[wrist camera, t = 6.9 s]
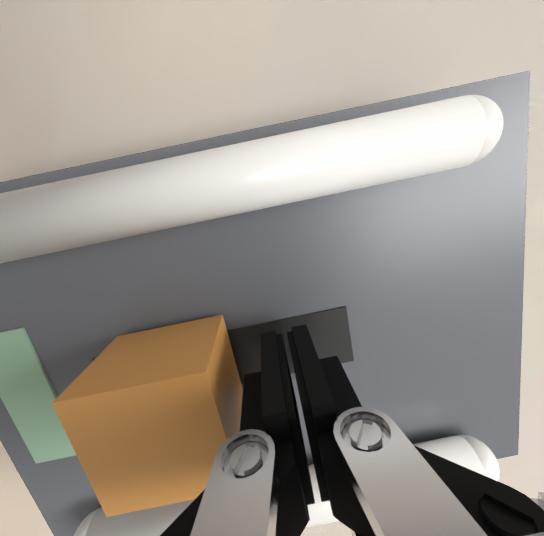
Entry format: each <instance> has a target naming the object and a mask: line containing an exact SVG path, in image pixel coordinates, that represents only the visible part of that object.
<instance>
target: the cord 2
mask: <svg viewBox="0 0 544 536" xmlns="http://www.w3.org/2000/svg"><path fill="white" fill-rule="evenodd" d="M413 445H414V446H417V447H419V448H421V449H424V450H426V451H428V452H431V453H433V454H435V455H438V456H440V457H442V458H445V459H447V460H449V461H452V462H454V463H456V464H458V465H461V466H463V467H465V468H468V469H470V470H472V471H475V472H477V473H479V474H482V475H484V476H486V477H489V478H491V479H493V480H496V481H498V480H499V477H500V468H499V464H498V461H497V459H496V457H495V455H494V454H493V452H492V451H491V450H490V449H489V447H488V446H487V445H485V444H484V443H483V442H482V441H480V440H478V439H476V438H474V437H471V436H468V435H455V436H450V437H445V438H440V439H435V440H430V441H426V442H421V443H416V444H413ZM308 467H309V472H310V478H311V483H312V489H313V494H314V500H315V504H310V505H308V511H309V517H310V521H308V524H307V525H306V527H305V528H307V527H312V526H317V525H322V524H327V523H332V522H337V521H339V520H338V519H336V518H335V517H334V516H333V514H332V509H331V505H330V501H325V502H322V501H321V497H320V492H319V487H318V482H317V478H316V473H315V468H314V464H312V465H308ZM194 500H195V499H194ZM194 500H189V501H184V502H179V503H174V504H169V505H164V506H159V507H154V508H149V509H144V510H139V511H134V512H129V513H125V514H120V515H115V516H110V517H106V515H105V513H104V511H103V509H102V507H101V508H98V509H96V510H95V511H93V512H91V513H90V514H89V515H88V516H87V517H85V518H84V520H83V521H82V522H81V523H80V525H79V526H78V528H77V530H76V532H75V534H74V536H160V535H161V534H162V533H163V532H164V531H165V530H166V529H167V528H168V527H169V526H170V525H171V524H172V523H173V522H174V520H175V519H176V518H177V517H178V516H179V515H180V514H181V513H182V512H183V511H184V510H185V509H186V508H187V507H188V506H189V505H190V504H191V503H192V502H193V501H194Z"/></svg>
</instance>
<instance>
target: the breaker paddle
mask: <svg viewBox="0 0 544 536" xmlns="http://www.w3.org/2000/svg"><path fill="white" fill-rule="evenodd" d="M242 395H243V388H242V385H241V381H240V377H239V373H238V370H237V366H236V362H235V359H234V355H233V351H232V347H231V344H230V340H229V336H228V333H227V329H226V325H225V321H224V318H223V315H218V316H213V317H208V318H204V319H199V320H194V321H189V322H184V323H179V324H175V325H170V326H165V327H160V328H155V329H150V330H146V331H141V332H136V333H131V334H126V335H121V336H117V337H116V338H115V339H114V340H113V341H112V342H111V343H110V344H109V345H108V346H107V347H106V348H105V349H104V350H103V351H102V352H101V354H100V355H99V356H98V357H97V358H96V359H95V360H94V361H93V362H92V363H91V364H90V365H89V366H88V367H87V368H86V369H85V370H84V371H83V372H82V373H81V374H80V375H79V376H78V377H77V378H76V379H75V380H74V381H73V382H72V383H71V384H70V385H69V386H68V387H67V388H66V389H65V390H64V391H63V392H62V393H61V394H60V395H59V396H58V397H57V398H56V399H55V400H54V401H53V402H52V405H53V407H54V410H55V412H56V414H57V416H58V418H59V420H60V422H61V424H62V426H63V428H64V430H65V432H66V434H67V436H68V439H69V441H70V443H71V445H72V447H73V449H74V451H75V453H76V455H77V457H78V459H79V461H80V463H81V465H82V467H83V470H84V472H85V474H86V476H87V478H88V480H89V482H90V484H91V486H92V488H93V490H94V492H95V494H96V496H97V499H98V501H99V503H100V505H101V507H102V509H103V511H104V513H105V515H106V517H110V516H115V515H120V514H125V513H129V512H134V511H139V510H144V509H149V508H154V507H159V506H164V505H169V504H174V503H179V502H184V501H189V500H194V499H196V498H197V497H198V496H199V495H200V494H201V493H202V491H203V490H204V489H205V487H206V484H207V481H208V478H209V475H210V472H211V469H212V465H213V462H214V459H215V456H216V454H217V452H218V450H219V448H220V447H221V446H222V444H223V443H224V442H225V441H226V440H227V439H228V438H230V437H231V436H232V435H234V434H236V433H238V432H240V421H241V408H242Z"/></svg>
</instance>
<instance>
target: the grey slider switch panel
mask: <svg viewBox="0 0 544 536" xmlns="http://www.w3.org/2000/svg"><path fill="white" fill-rule="evenodd" d="M529 91H530V71H526V72H521V73H516V74H512V75H507V76H502V77H497V78H493V79H488V80H483V81H479V82H474V83H469V84H464V85H460V86H455V87H450V88H445V89H441V90H436V91H431V92H426V93H422V94H417V95H412V96H407V97H403V98H398V99H393V100H388V101H384V102H379V103H374V104H370V105H365V106H360V107H355V108H351V109H346V110H341V111H336V112H332V113H327V114H322V115H317V116H313V117H308V118H303V119H298V120H294V121H289V122H284V123H280V124H275V125H270V126H265V127H261V128H256V129H251V130H246V131H242V132H237V133H232V134H227V135H223V136H218V137H213V138H208V139H204V140H199V141H194V142H189V143H185V144H180V145H175V146H171V147H166V148H161V149H156V150H152V151H147V152H142V153H137V154H133V155H128V156H123V157H118V158H114V159H109V160H104V161H99V162H95V163H90V164H85V165H80V166H76V167H71V168H66V169H62V170H57V171H52V172H47V173H43V174H38V175H33V176H28V177H24V178H19V179H14V180H9V181H5V182H0V193H4V192H9V191H14V190H19V189H23V188H28V187H33V186H38V185H42V184H47V183H52V182H57V181H61V180H66V179H71V178H76V177H80V176H85V175H90V174H94V173H99V172H104V171H109V170H113V169H118V168H123V167H128V166H132V165H137V164H142V163H147V162H151V161H156V160H161V159H166V158H170V157H175V156H180V155H185V154H189V153H194V152H199V151H204V150H208V149H213V148H218V147H223V146H227V145H232V144H237V143H242V142H246V141H251V140H256V139H261V138H265V137H270V136H275V135H280V134H284V133H289V132H294V131H299V130H303V129H308V128H313V127H317V126H322V125H327V124H332V123H336V122H341V121H346V120H351V119H355V118H360V117H365V116H370V115H374V114H379V113H384V112H389V111H393V110H398V109H403V108H408V107H412V106H417V105H422V104H427V103H431V102H436V101H441V100H446V99H450V98H455V97H460V96H465V95H481V96H485V97H487V98H489V99H491V100H493V101H494V102H495V103H496V104H497V105H498V107H499V108H500V109H501V112H502V115H503V131H502V134H501V137H500V139H499V141H498V143H497V144H496V146H495V147H494V148H493V149H492V151H491V152H490V153H489V154H487V155H486V156H485V157H484V158H483V159H481V160H479V161H477V162H475V163H474V164H471V165H468V166H465V167H460V168H456V169H451V170H446V171H441V172H436V173H432V174H427V175H422V176H417V177H413V178H408V179H403V180H398V181H393V182H389V183H384V184H379V185H374V186H370V187H365V188H360V189H355V190H350V191H346V192H341V193H336V194H331V195H326V196H322V197H317V198H312V199H307V200H303V201H298V202H293V203H288V204H283V205H279V206H274V207H269V208H264V209H260V210H255V211H250V212H245V213H240V214H236V215H231V216H226V217H221V218H216V219H212V220H207V221H202V222H197V223H193V224H188V225H183V226H178V227H173V228H169V229H164V230H159V231H154V232H149V233H145V234H140V235H135V236H130V237H126V238H121V239H116V240H111V241H106V242H102V243H97V244H92V245H87V246H83V247H78V248H73V249H68V250H63V251H59V252H54V253H49V254H44V255H39V256H35V257H30V258H25V259H20V260H16V261H11V262H6V263H1V264H0V440H1V442H2V444H3V446H4V447H5V449H6V451H7V453H8V455H9V456H10V458H11V460H12V462H13V463H14V465H15V467H16V469H17V471H18V472H19V474H20V476H21V478H22V479H23V481H24V483H25V485H26V487H27V488H28V490H29V492H30V494H31V495H32V497H33V499H34V501H35V503H36V504H37V506H38V508H39V510H40V511H41V513H42V515H43V517H44V519H45V520H46V522H47V524H48V526H49V528H50V529H51V531H52V533H53V535H54V536H74V534H75V532H76V530H77V528H78V526H79V525H80V523H81V522H82V521H83V520H84V518H85V517H87V516H88V515H89V514H90V513H91V512H93V511H95V510H96V509H98V508H101V505H100V503H99V501H98V499H97V496H96V494H95V492H94V490H93V488H92V486H91V484H90V482H89V480H88V478H87V476H86V474H85V472H84V470H83V467H82V465H81V463H80V461H79V459H78V457H77V455H76V453H75V451H74V449H73V447H72V445H71V443H70V441H69V439H68V436H67V434H66V432H65V430H64V428H63V426H62V424H61V422H60V420H59V418H58V416H57V414H56V412H55V410H54V407H53V405H52V402H53V401H54V400H55V399H56V398H57V397H58V396H59V395H60V394H61V393H62V392H63V391H64V390H65V389H66V388H67V387H68V386H69V385H70V384H71V383H72V382H73V381H74V380H75V379H76V378H77V377H78V376H79V375H80V374H81V373H82V372H83V371H84V370H85V369H86V368H87V367H88V366H89V365H90V364H91V363H92V362H93V361H94V360H95V359H96V358H97V357H98V356H99V355H100V354H101V352H102V351H103V350H104V349H105V348H106V347H107V346H108V345H109V344H110V343H111V342H112V341H113V340H114V339H115V338H116V337H117V336H121V335H126V334H131V333H136V332H141V331H146V330H150V329H155V328H160V327H165V326H170V325H175V324H179V323H184V322H189V321H194V320H199V319H204V318H208V317H213V316H218V315H223V318H224V321H225V325H226V329H227V333H228V336H229V340H230V344H231V347H232V351H233V355H234V359H235V362H236V366H237V370H238V373H239V377H240V381H241V385H242V388H243V382H244V375H245V374H249V373H254V372H259V371H261V337H260V334H261V333H266V332H270V331H276V334H280V333H282V336H283V341H284V346H285V350H286V355H287V360H288V364H289V369H290V374H291V378H292V383H293V388H294V392H295V397H296V402H297V407H298V413H299V418H300V424H301V429H302V434H303V440H304V445H305V451H306V456H307V462H308V465H312V464H314V463H313V459H312V454H311V449H310V444H309V439H308V435H307V430H306V425H305V420H304V416H303V411H302V406H301V401H300V396H299V391H298V386H297V381H296V377H295V372H294V367H293V362H292V357H291V352H290V347H289V342H288V337H287V333H286V332H290V331H292V328H291V327H295V326H299V325H304V324H306V325H307V328H308V331H309V333H310V336H311V339H312V342H313V344H314V347H315V350H316V353H317V355H318V358H319V359H322V358H327V357H332V356H337V357H338V358H339V360H340V362H341V364H342V366H343V369H344V371H345V373H346V375H347V377H348V379H349V381H350V383H351V385H352V387H353V389H354V391H355V393H356V395H357V397H358V399H359V401H360V403H361V405H362V407H370V408H374V409H378V410H380V411H381V412H383V413H385V414H387V415H388V416H389V417H390V418H391V419H392V420H393V421H394V422H395V423H396V425H397V426H398V427H399V428H400V430H401V431H402V432H403V433H404V434H405V436H406V437H407V438H408V439H409V441H410V442H411V443H412V444H416V443H421V442H426V441H430V440H435V439H440V438H445V437H450V436H455V435H468V436H471V437H474V438H476V439H478V440H480V441H482V442H483V443H484V444H485V445H487V446H488V447H489V449H490V450H491V451H492V452H493V454H494V455H495V457H496V459H499V458H504V457H509V456H513V455H518V438H519V406H520V375H521V343H522V312H523V280H524V248H525V217H526V185H527V154H528V122H529Z"/></svg>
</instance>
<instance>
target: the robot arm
mask: <svg viewBox="0 0 544 536" xmlns="http://www.w3.org/2000/svg"><path fill="white" fill-rule="evenodd" d="M291 328H292V331H290V332H286V333H287V337H288V342H289V347H290V352H291V357H292V362H293V367H294V372H295V377H296V381H297V386H298V391H299V396H300V401H301V406H302V411H303V416H304V420H305V425H306V430H307V435H308V439H309V444H310V449H311V454H312V459H313V463H314V468H315V473H316V478H317V482H318V487H319V492H320V497H321V501H322V502H325V501H330V505H331V509H332V514H333V516H334V517H335V518H336V519H338V520H339V521H340V522H342V523H343V524H345V525H346V526H347V527H349V528H350V529H351V532H352V536H544V493H540V492H538V499H531V498H529V497H527V496H526V495H524V494H523V493H521V492H519V491H517V490H515V489H513V488H511V487H509V486H507V485H505V484H502V483H500V482H498V481H496V480H493V479H491V478H489V477H486V476H484V475H482V474H479V473H477V472H475V471H472V470H470V469H468V468H465V467H463V466H461V465H458V464H456V463H454V462H452V461H449V460H447V459H445V458H442V457H440V456H438V455H435V454H433V453H431V452H428V451H426V450H424V449H421V448H419V447H417V446H414V445H413V444H412V443H411V442H410V441H409V439H408V438H407V437H406V436H405V434H404V433H403V432H402V431H401V430H400V428H399V427H398V426H397V425H396V423H395V422H394V421H393V420H392V419H391V418H390V417H389V416H388V415H387V414H385V413H383V412H381V411H380V410H378V409H374V408H370V407H362V405H361V403H360V401H359V399H358V397H357V395H356V393H355V391H354V389H353V387H352V385H351V383H350V381H349V379H348V377H347V375H346V373H345V371H344V369H343V366H342V364H341V362H340V360H339V358H338V357H337V356H332V357H327V358H322V359H319V358H318V355H317V353H316V350H315V347H314V344H313V342H312V339H311V336H310V333H309V331H308V328H307V325H306V324H304V325H299V326H295V327H291ZM260 337H261V371H259V372H254V373H249V374H245V375H244V382H243V395H242V408H241V421H240V432H238V433H236V434H234V435H232V436H231V437H230V438H228V439H227V440H226V441H225V442H224V443H223V444H222V446H221V447H220V448H219V450H218V452H217V454H216V456H215V459H214V462H213V465H212V469H211V472H210V475H209V478H208V481H207V484H206V487H205V489H204V490H203V491H202V493H201V494H200V495H199V496H198V497H197V498H196V499H195V500H194V501H193V502H192V503H191V504H190V505H189V506H188V507H187V508H186V509H185V510H184V511H183V512H182V513H181V514H180V515H179V516H178V517H177V518H176V519H175V520H174V522H173V523H172V524H171V525H170V526H169V527H168V528H167V529H166V530H165V531H164V532H163V533H162V534H161V535H160V536H300V535H301V533H302V532H303V530H304V529H305V527H306V525H307V524H308V521H310V517H309V511H308V505H310V504H315V500H314V494H313V489H312V483H311V478H310V472H309V467H308V462H307V456H306V451H305V445H304V440H303V434H302V429H301V424H300V418H299V413H298V407H297V402H296V397H295V392H294V388H293V383H292V378H291V374H290V369H289V364H288V360H287V355H286V350H285V346H284V341H283V336H282V333H280V334H276V331H270V332H266V333H261V334H260Z"/></svg>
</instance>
